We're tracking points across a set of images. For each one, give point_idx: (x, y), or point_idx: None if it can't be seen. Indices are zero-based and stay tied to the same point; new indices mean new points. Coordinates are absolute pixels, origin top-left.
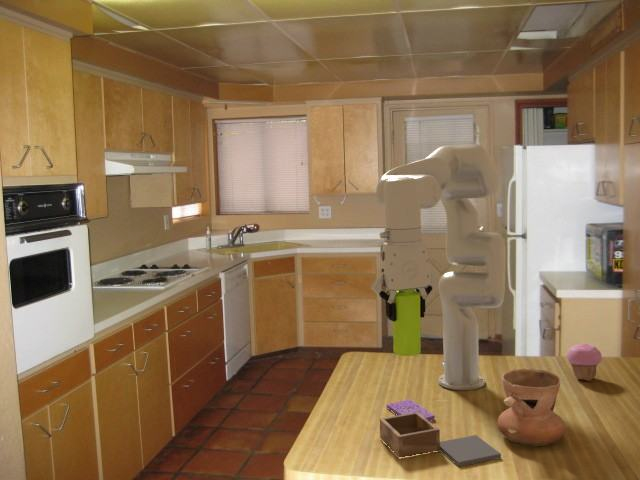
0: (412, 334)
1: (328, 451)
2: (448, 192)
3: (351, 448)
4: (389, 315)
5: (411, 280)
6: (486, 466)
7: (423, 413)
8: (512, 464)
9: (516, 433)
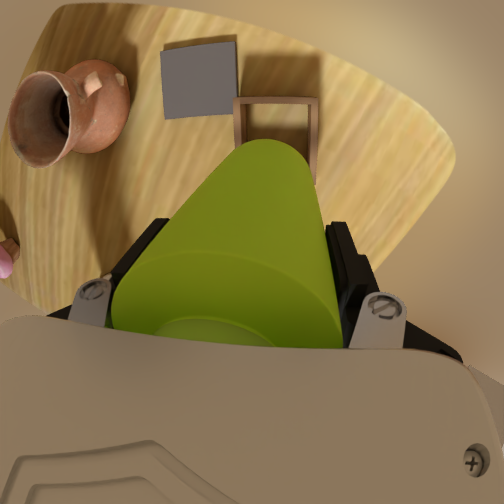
0: (256, 155)
1: (399, 173)
2: None
3: (366, 165)
4: (362, 255)
5: (137, 430)
6: (195, 33)
7: None
8: (158, 32)
9: (117, 72)
